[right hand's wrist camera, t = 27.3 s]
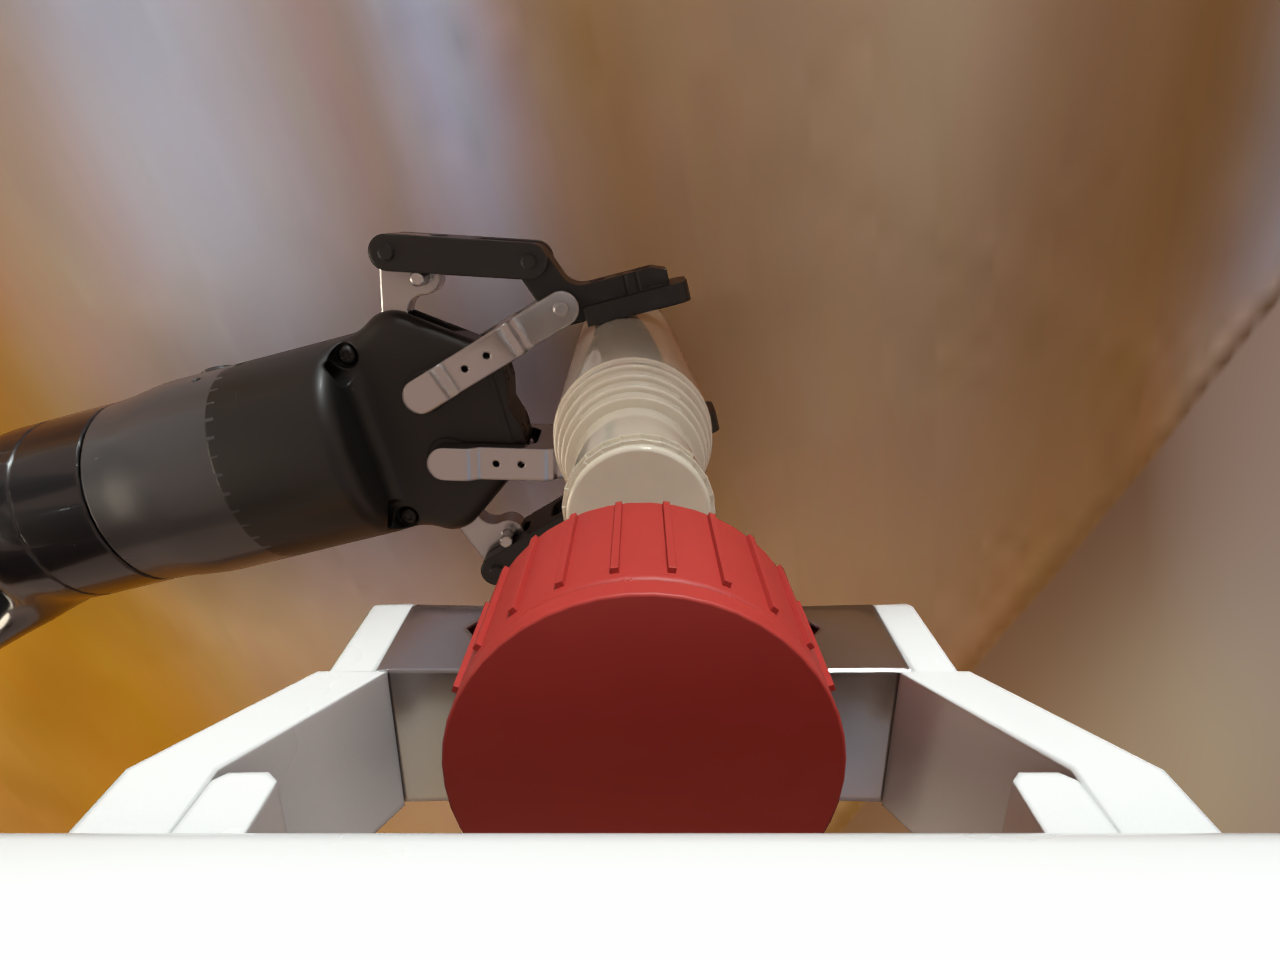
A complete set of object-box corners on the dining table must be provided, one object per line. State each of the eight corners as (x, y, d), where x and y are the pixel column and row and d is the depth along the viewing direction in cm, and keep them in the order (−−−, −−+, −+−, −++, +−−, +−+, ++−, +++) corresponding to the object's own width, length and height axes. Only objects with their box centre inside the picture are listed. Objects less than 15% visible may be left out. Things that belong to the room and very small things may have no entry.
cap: (749, 448, 9) (786, 529, 7) (839, 726, 10) (896, 870, 8) (428, 557, 10) (363, 665, 7) (554, 809, 11) (532, 969, 9)
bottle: (691, 337, 34) (791, 500, 15) (632, 408, 35) (653, 649, 16) (618, 276, 33) (621, 365, 14) (559, 351, 34) (486, 533, 15)
